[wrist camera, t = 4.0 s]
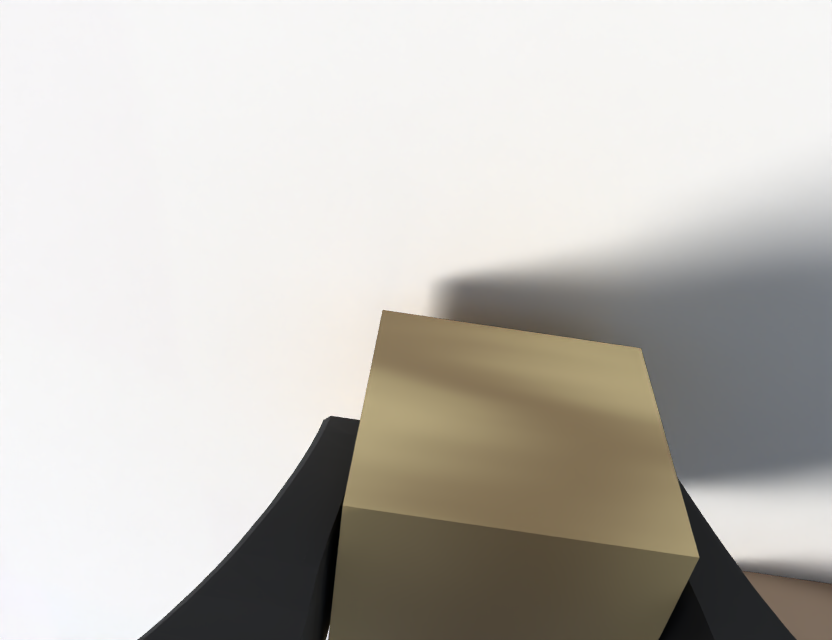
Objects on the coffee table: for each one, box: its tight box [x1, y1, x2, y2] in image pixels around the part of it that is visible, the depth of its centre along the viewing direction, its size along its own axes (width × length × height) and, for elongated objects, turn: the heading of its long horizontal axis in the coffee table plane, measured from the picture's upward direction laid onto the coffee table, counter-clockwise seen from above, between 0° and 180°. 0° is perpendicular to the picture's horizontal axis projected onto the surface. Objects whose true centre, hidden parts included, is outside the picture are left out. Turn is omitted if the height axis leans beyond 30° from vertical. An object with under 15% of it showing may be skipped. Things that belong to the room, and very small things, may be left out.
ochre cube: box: [328, 310, 699, 640], centre depth 13 cm, size 4×4×4 cm
